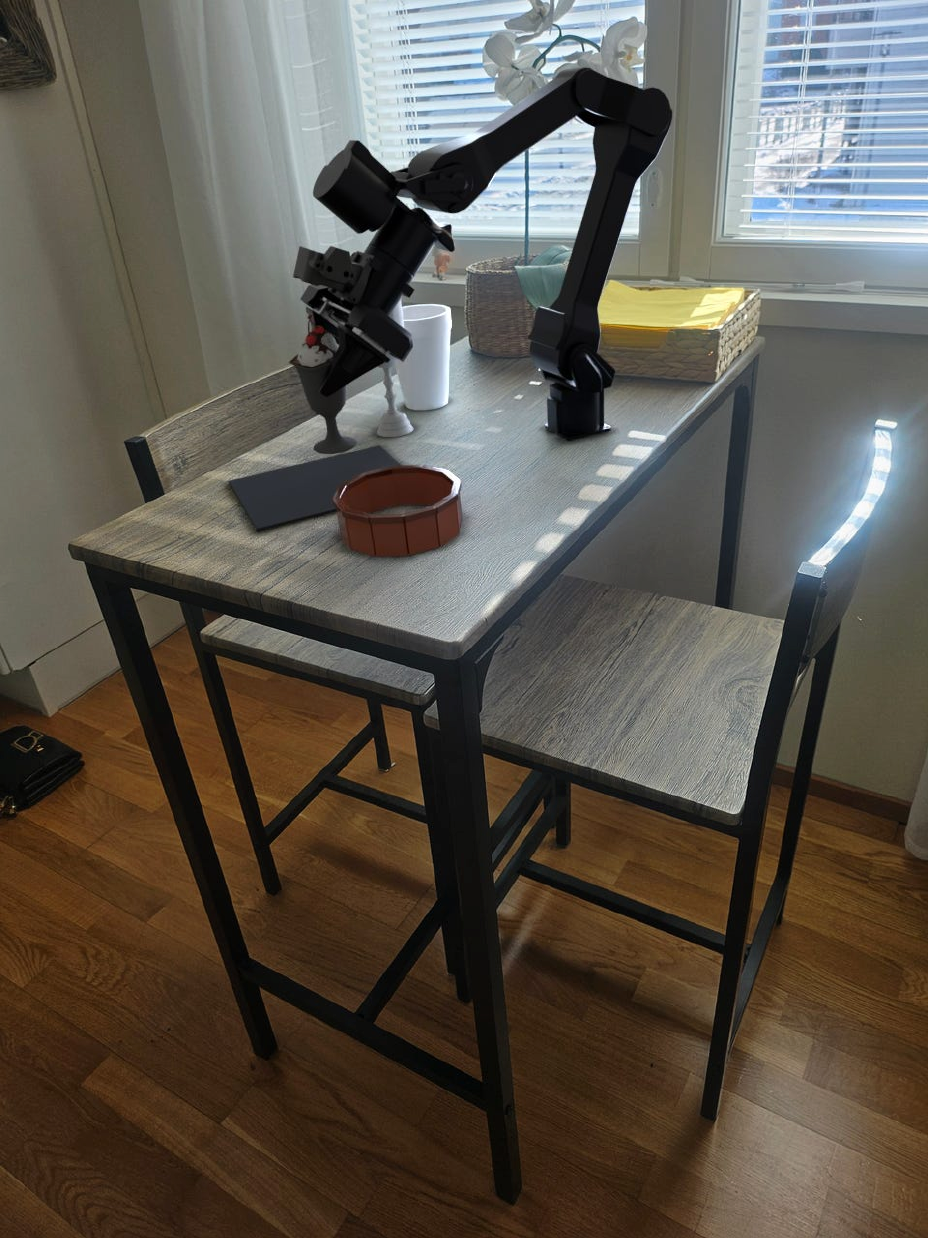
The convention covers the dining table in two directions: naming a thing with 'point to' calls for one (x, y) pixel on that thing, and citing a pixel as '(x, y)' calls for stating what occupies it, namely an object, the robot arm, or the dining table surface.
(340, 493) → the serving tub
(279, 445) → the dining table surface
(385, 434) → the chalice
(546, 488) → the dining table surface
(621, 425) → the dining table surface
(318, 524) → the dining table surface
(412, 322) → the foam cup
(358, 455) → the placemat
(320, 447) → the sundae
